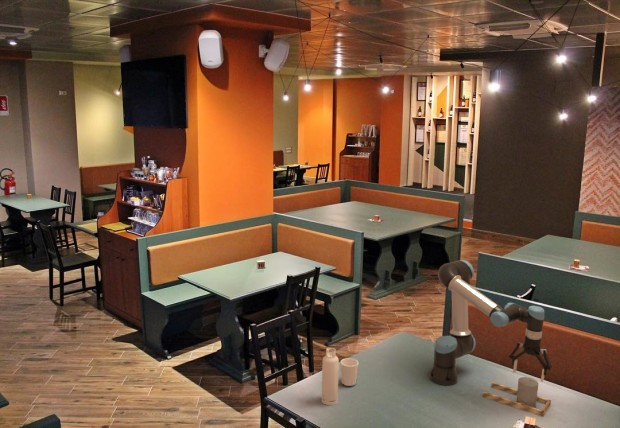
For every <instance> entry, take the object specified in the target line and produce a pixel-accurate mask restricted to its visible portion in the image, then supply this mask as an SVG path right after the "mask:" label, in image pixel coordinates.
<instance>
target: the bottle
mask: <svg viewBox="0 0 620 428" xmlns="http://www.w3.org/2000/svg"><path fill="white" fill-rule="evenodd" d="M330 350H333V351H330ZM325 352H326V353H325V355H324V356H323V358H322V370H321V371H322V372H321V375H322V376H321V379H322V380H321V403H322V402H323V403H324V405H325V404H326V406H334V405H333V404H335V405H336V404H338V399H339V398H338V397H339V395H338V394H339V365H340V360H339V357H338V356H337V355H336V354H337V352H336V348H334V347H327V348H326V350H325ZM323 403H322V404H323Z"/></svg>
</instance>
